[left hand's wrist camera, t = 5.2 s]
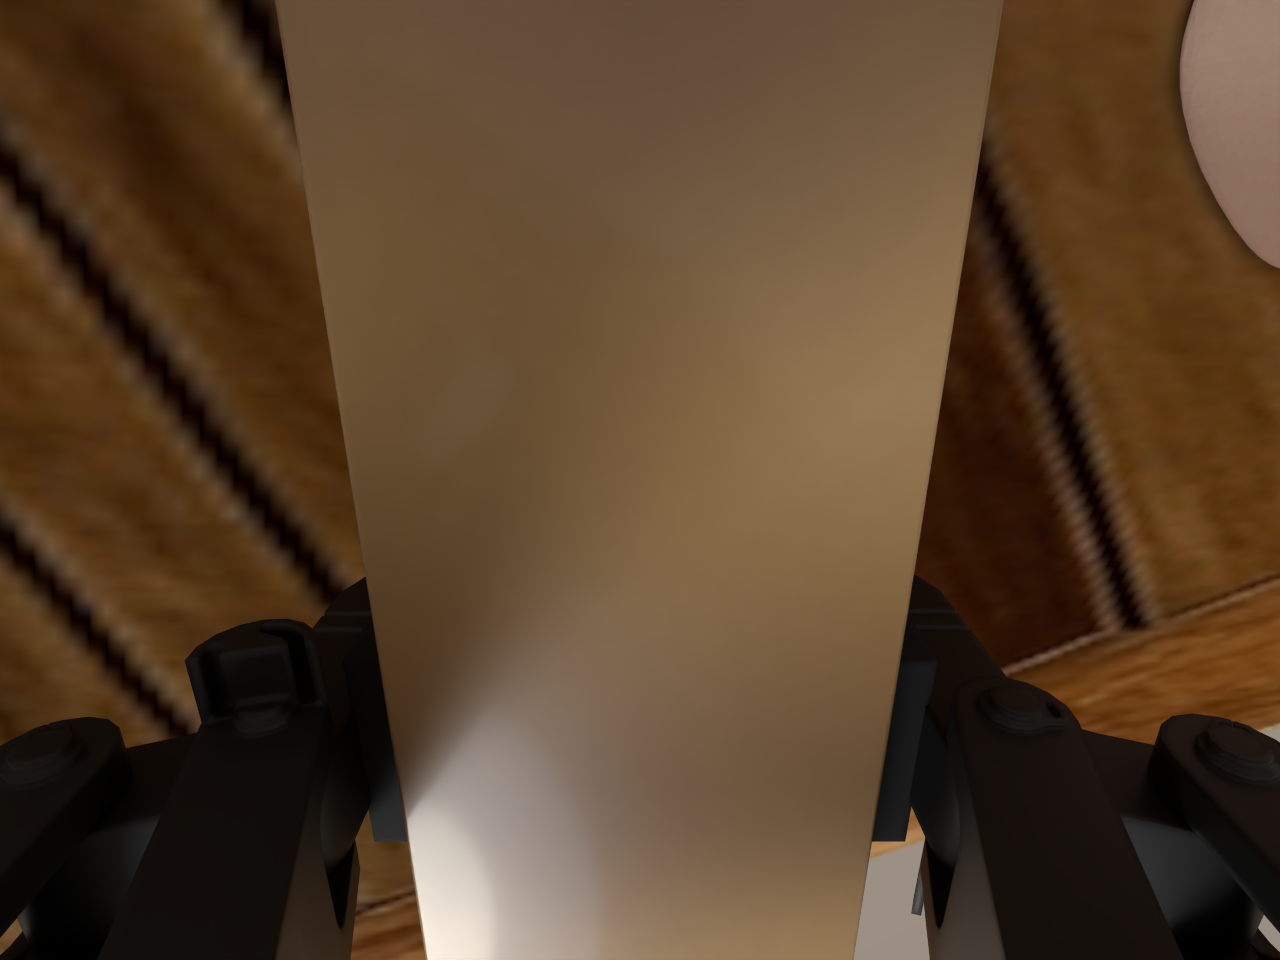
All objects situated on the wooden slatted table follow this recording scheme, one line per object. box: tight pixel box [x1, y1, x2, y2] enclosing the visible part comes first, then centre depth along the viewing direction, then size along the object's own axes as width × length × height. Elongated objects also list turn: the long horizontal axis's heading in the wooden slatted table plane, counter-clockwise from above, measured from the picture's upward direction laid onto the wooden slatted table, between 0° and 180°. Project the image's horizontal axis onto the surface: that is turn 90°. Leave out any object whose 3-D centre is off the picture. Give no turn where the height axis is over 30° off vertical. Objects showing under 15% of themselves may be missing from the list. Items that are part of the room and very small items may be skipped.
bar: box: [275, 0, 1004, 960], centre depth 8 cm, size 22×5×8 cm, turn 0°
